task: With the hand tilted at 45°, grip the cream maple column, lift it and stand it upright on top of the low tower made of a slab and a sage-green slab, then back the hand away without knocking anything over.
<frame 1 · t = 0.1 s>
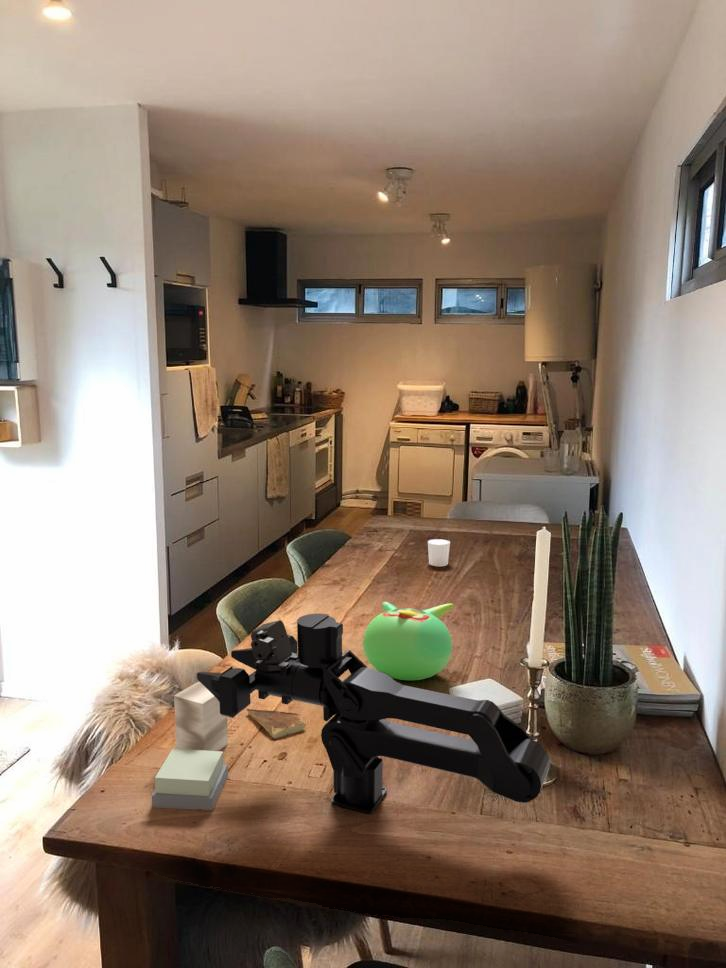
hand: (215, 664, 122), 17 cm above the table, tool horizontal, fingers open, 9 cm apart
maple column: (202, 747, 129), on the table
tower top slab: (190, 779, 116), point 2 cm above the table, touching tower bottom slab
shard: (272, 730, 136), on the table
white short cylinder: (438, 564, 234), on the table
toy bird: (407, 675, 157), on the table
tower bottom slab: (191, 794, 117), on the table, touching tower top slab
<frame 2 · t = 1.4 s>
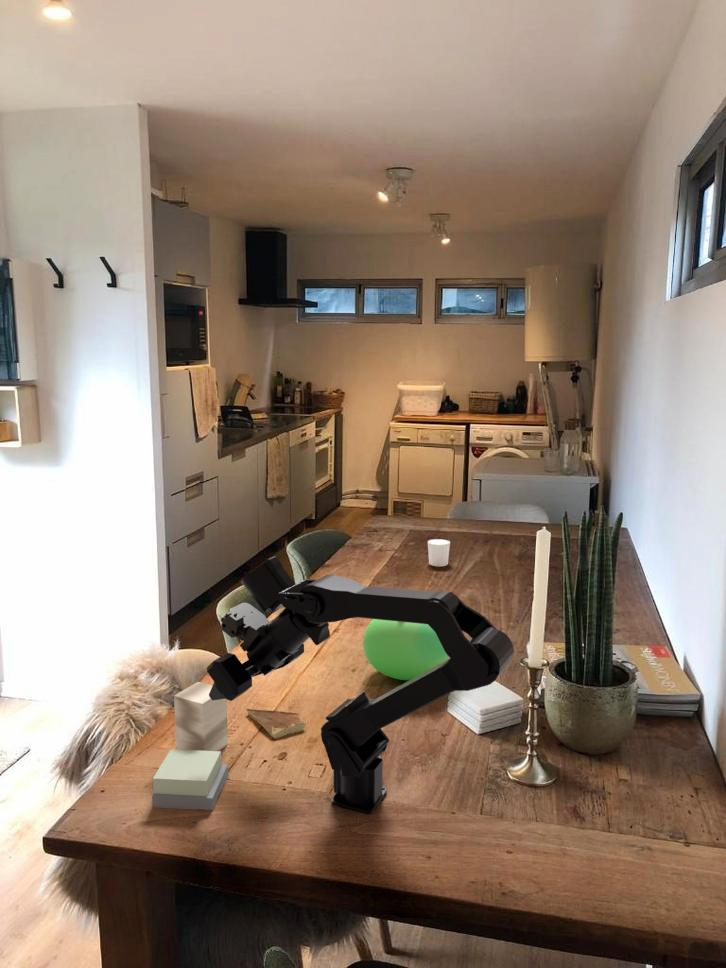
hand: (229, 685, 123), 13 cm above the table, tool tilted 45°, fingers open, 9 cm apart
nothing on the table moved.
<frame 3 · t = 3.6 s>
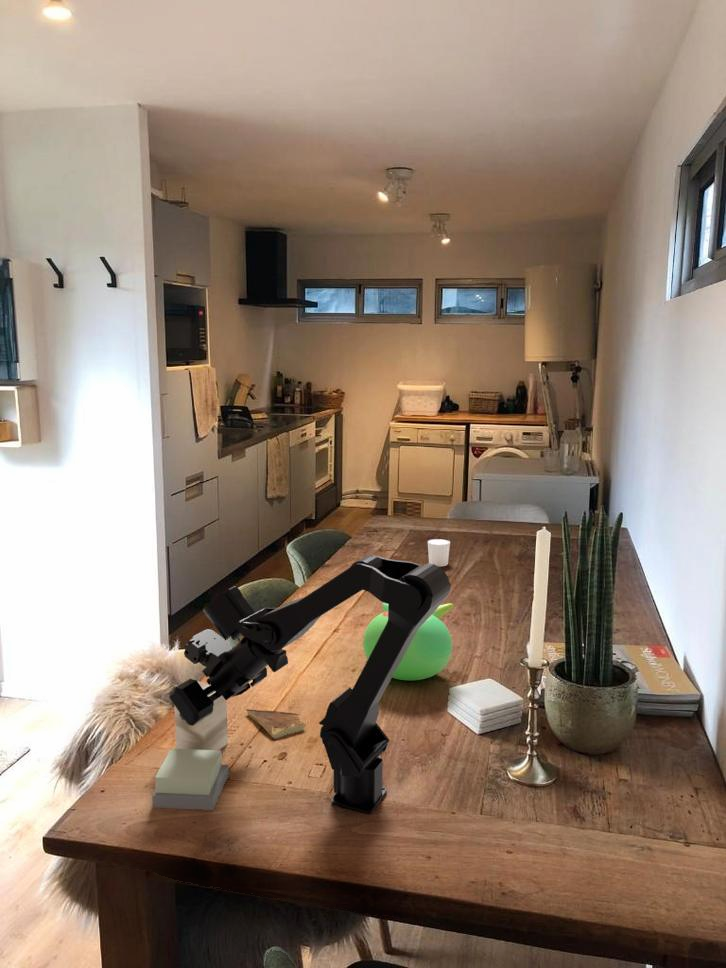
hand: (194, 709, 128), 7 cm above the table, tool tilted 45°, fingers closed on maple column, 6 cm apart
maple column: (202, 747, 129), on the table, touching gripper
everything else where it was.
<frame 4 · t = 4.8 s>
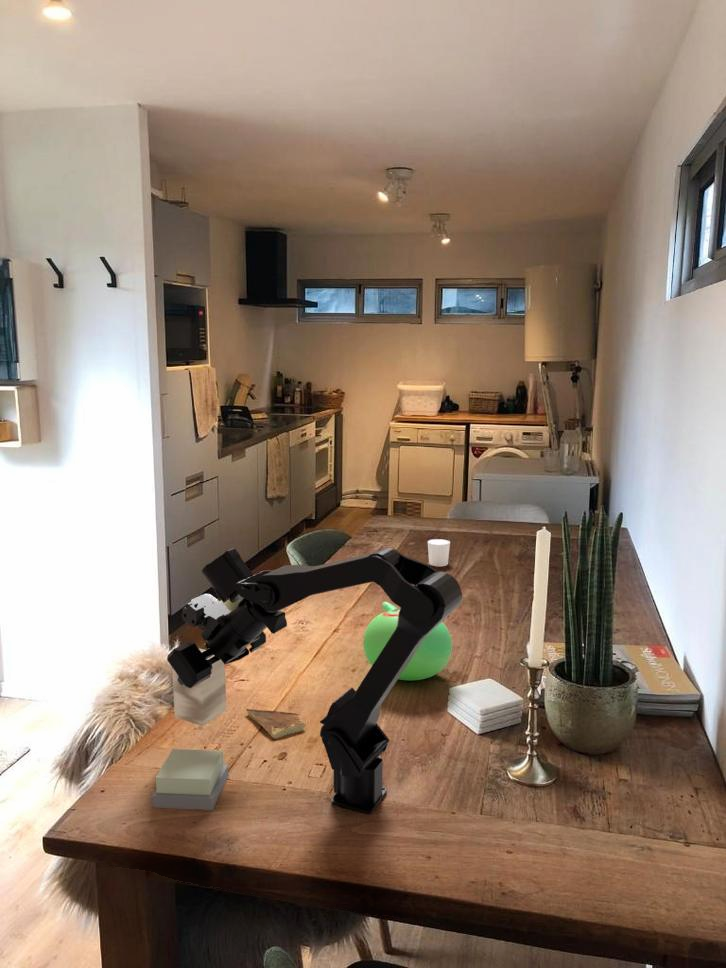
hand: (192, 674, 127), 13 cm above the table, tool tilted 45°, fingers closed on maple column, 6 cm apart
maple column: (200, 713, 128), point 6 cm above the table, touching gripper
everything else where it was.
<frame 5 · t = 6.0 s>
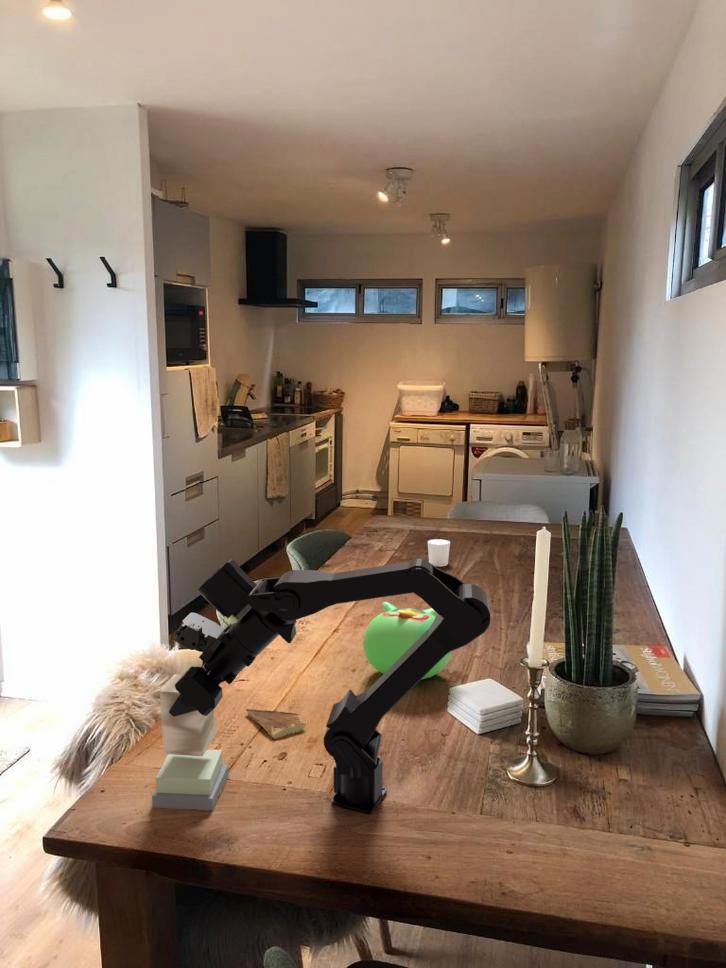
hand: (179, 703, 116), 13 cm above the table, tool tilted 45°, fingers closed on maple column, 6 cm apart
maple column: (189, 744, 117), point 7 cm above the table, touching gripper
everything else where it was.
when the fingers open (12 cm above the table, at t = 7.1 s): maple column drops 1 cm, resting on tower top slab.
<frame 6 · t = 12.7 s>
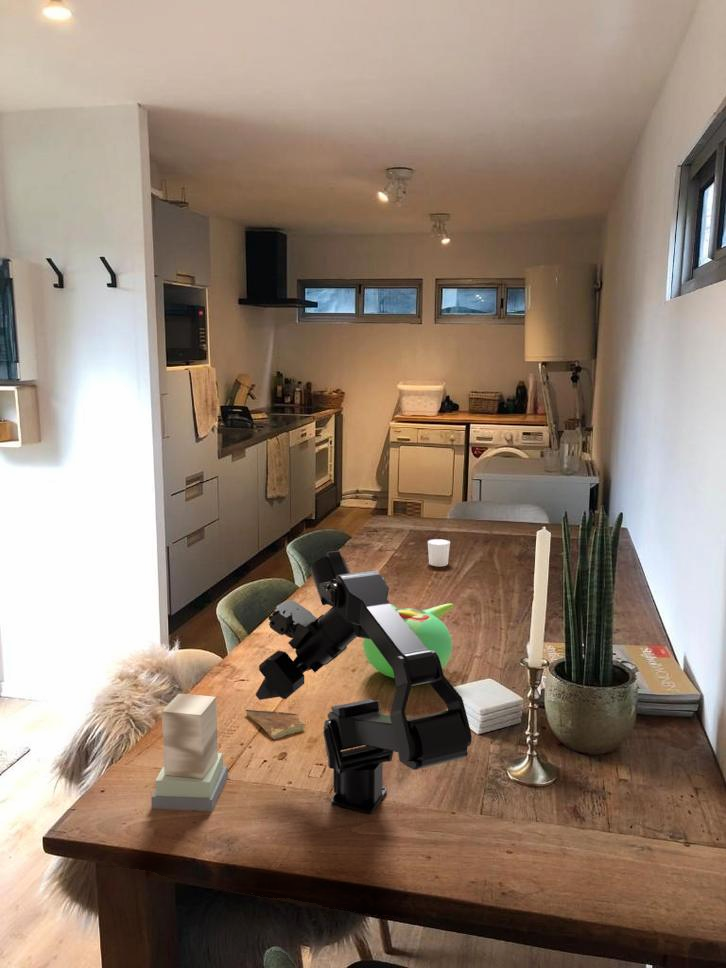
hand: (273, 684, 122), 14 cm above the table, tool tilted 45°, fingers open, 9 cm apart
maple column: (191, 766, 115), point 4 cm above the table, touching tower top slab
tower top slab: (190, 781, 116), point 2 cm above the table, touching maple column, tower bottom slab
everything else where it was.
at the end: maple column 0.3 cm off-centre on the tower top slab, point 2.6 cm above the tower top slab's base; maple column tilted 1°; tower bottom slab moved 0.7 cm from its start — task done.
